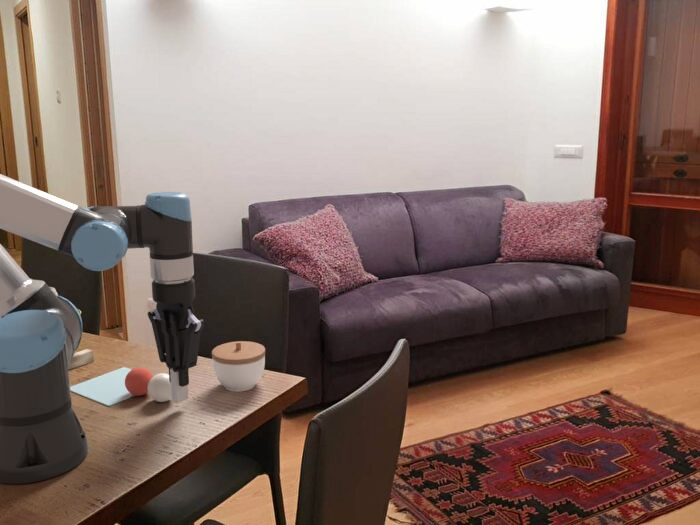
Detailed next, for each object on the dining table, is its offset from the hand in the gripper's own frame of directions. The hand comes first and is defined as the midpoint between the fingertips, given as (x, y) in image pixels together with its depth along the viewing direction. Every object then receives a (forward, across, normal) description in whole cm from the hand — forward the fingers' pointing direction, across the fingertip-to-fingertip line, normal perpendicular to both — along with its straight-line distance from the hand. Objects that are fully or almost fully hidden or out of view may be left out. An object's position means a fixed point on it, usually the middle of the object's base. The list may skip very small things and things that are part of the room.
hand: (180, 400), depth 125 cm
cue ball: (-1, +6, -1) cm, 6 cm away
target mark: (+2, +19, 0) cm, 19 cm away
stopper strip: (+2, +36, 0) cm, 36 cm away
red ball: (-1, +12, 0) cm, 12 cm away
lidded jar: (+2, -1, -14) cm, 15 cm away
